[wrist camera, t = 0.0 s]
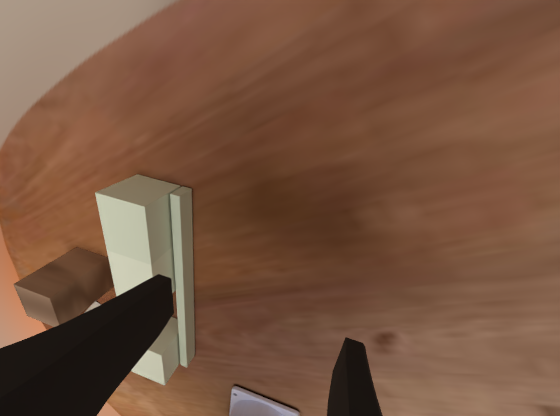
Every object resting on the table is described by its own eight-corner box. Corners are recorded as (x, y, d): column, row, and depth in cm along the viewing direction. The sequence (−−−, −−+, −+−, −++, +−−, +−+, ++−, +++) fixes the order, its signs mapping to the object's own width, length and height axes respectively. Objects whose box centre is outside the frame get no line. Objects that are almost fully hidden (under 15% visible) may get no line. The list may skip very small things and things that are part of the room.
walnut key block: (113, 285, 30) (61, 329, 25) (84, 275, 31) (27, 315, 26) (108, 257, 28) (49, 298, 23) (76, 246, 29) (13, 284, 24)
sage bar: (195, 354, 31) (173, 389, 28) (157, 339, 32) (131, 371, 29) (191, 188, 21) (157, 210, 18) (137, 174, 22) (95, 192, 19)
